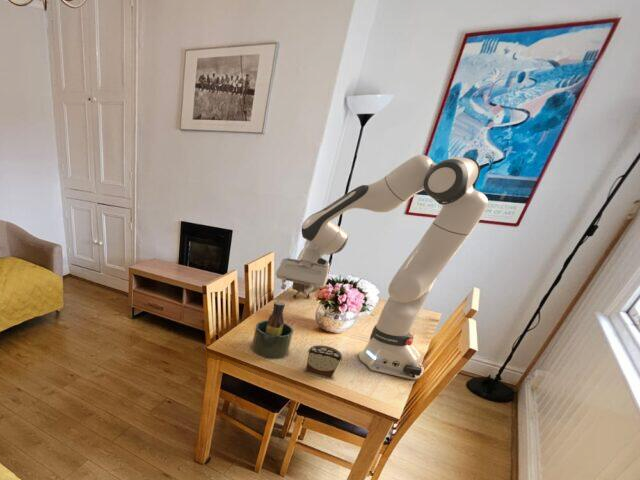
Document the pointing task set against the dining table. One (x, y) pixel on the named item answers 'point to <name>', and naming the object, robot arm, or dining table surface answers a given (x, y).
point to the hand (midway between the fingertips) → (293, 291)
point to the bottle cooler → (271, 341)
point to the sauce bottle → (276, 320)
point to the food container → (323, 360)
